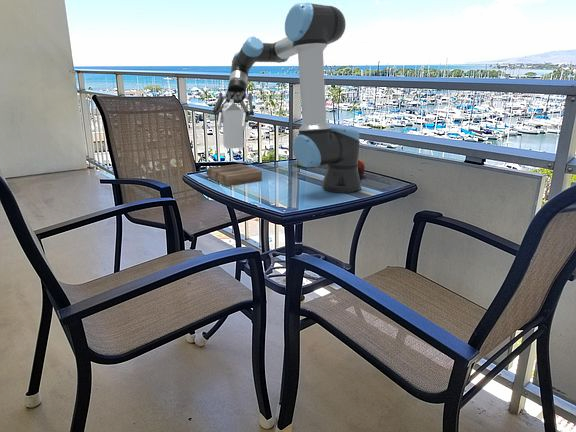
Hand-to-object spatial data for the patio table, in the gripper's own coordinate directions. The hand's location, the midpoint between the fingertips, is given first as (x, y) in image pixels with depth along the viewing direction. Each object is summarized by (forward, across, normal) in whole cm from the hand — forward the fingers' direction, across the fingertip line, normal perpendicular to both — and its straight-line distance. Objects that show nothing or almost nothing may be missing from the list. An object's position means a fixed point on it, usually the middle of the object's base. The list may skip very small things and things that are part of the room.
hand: (231, 127), depth 166 cm
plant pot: (-7, -28, -38) cm, 48 cm away
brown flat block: (+13, 0, -18) cm, 22 cm away
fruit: (+7, -50, -24) cm, 56 cm away
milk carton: (+4, 0, -8) cm, 9 cm away
